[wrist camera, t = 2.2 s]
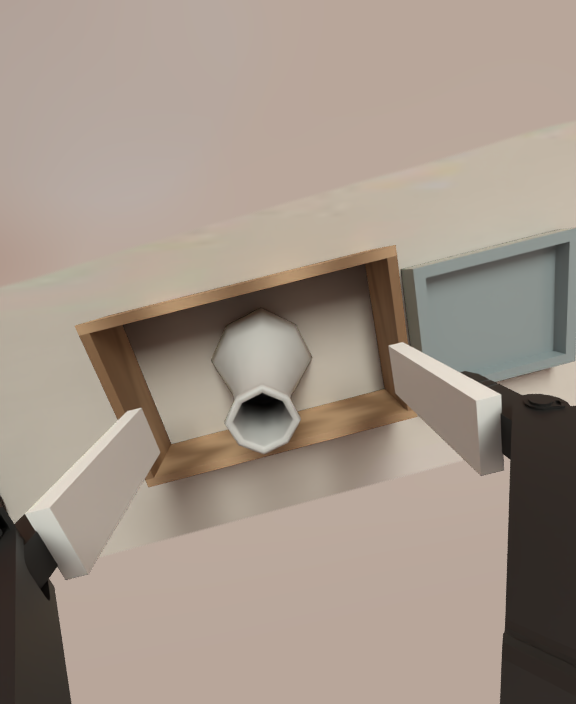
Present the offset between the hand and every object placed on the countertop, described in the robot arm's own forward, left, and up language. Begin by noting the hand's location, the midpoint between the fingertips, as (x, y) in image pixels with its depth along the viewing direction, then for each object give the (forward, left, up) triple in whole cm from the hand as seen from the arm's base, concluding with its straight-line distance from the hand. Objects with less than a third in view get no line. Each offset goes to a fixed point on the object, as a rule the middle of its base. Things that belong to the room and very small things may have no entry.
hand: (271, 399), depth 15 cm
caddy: (0, 0, -8) cm, 8 cm away
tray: (+17, +2, -8) cm, 19 cm away
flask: (0, 0, -8) cm, 8 cm away
